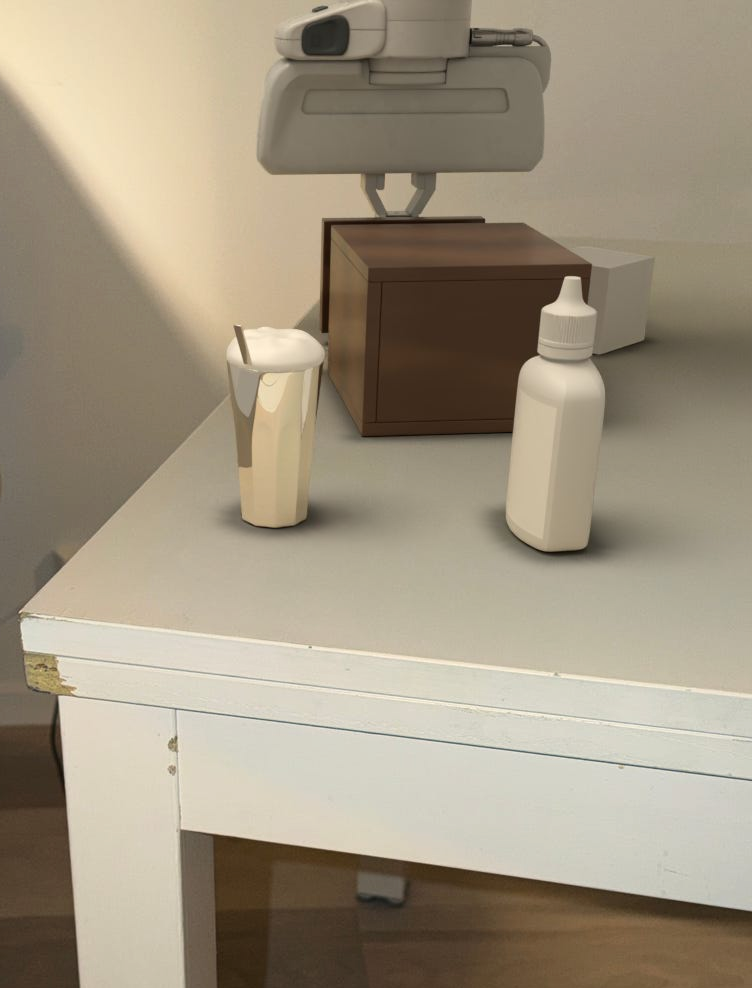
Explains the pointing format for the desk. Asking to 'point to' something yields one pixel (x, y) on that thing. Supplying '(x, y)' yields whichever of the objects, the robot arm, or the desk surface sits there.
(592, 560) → the desk surface
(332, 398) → the desk surface
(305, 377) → the milkshake
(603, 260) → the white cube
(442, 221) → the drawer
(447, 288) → the cabinet
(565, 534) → the eye dropper bottle
